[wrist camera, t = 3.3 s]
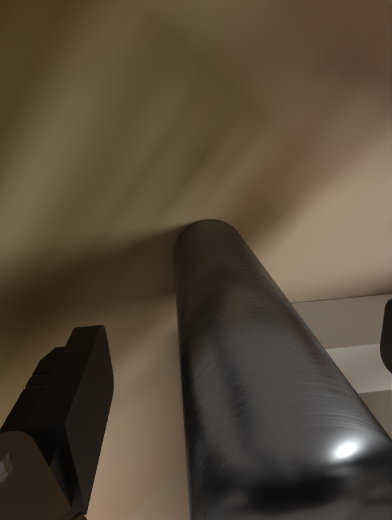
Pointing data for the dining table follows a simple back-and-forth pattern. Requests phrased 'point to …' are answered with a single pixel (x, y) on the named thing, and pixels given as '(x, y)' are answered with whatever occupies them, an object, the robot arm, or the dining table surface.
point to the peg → (266, 398)
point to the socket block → (355, 346)
